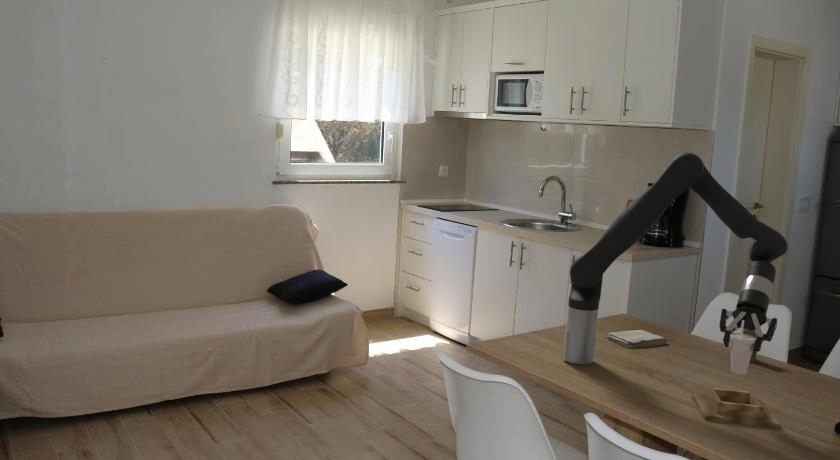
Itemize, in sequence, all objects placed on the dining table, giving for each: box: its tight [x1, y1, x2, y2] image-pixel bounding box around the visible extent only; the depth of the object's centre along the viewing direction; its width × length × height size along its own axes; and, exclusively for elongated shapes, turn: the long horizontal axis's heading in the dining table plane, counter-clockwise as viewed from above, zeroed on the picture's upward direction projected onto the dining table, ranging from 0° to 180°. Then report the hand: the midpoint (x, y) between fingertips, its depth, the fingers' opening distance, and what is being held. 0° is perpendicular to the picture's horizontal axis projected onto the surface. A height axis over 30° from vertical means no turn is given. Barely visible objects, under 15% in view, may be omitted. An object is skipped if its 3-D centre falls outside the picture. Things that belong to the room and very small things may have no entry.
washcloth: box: [605, 329, 668, 349], centre depth 251 cm, size 12×18×3 cm, turn 118°
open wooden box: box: [691, 387, 781, 430], centre depth 192 cm, size 18×16×4 cm
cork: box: [743, 329, 757, 363], centre depth 237 cm, size 6×6×11 cm
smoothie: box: [730, 320, 756, 375], centre depth 189 cm, size 6×6×14 cm
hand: (740, 348), depth 188 cm, fingers closed on smoothie, 6 cm apart
